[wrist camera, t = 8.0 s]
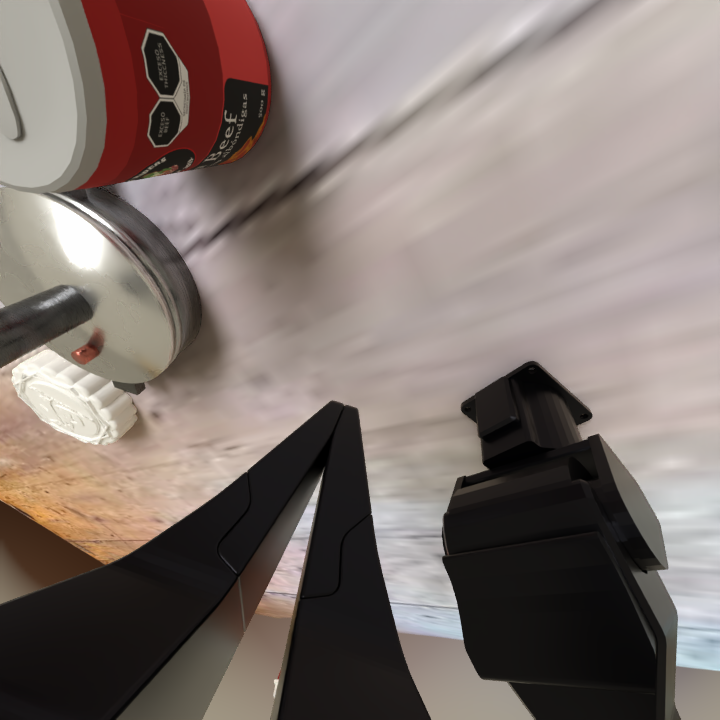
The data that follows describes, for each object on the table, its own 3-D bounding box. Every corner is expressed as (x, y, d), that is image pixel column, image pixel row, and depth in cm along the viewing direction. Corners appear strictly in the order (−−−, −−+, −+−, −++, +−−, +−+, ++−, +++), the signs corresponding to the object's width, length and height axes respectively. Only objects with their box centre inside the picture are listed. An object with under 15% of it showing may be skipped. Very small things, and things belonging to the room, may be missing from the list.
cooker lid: (155, 224, 18) (-23, 283, 11) (188, 398, 27) (100, 490, 20) (-69, 157, 19) (-359, 174, 12) (35, 348, 28) (-98, 419, 21)
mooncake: (43, 391, 40) (11, 411, 37) (35, 326, 32) (-5, 345, 30) (134, 440, 42) (110, 463, 39) (145, 389, 34) (118, 413, 32)
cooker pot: (185, 160, 19) (148, 165, 17) (213, 395, 32) (194, 417, 29) (-27, 99, 20) (-91, 96, 18) (82, 352, 33) (54, 370, 30)
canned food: (195, 181, 20) (-5, 225, 11) (104, 3, 16) (-323, -144, 7) (302, 135, 17) (146, 145, 8) (224, -95, 13) (-231, -532, 4)
